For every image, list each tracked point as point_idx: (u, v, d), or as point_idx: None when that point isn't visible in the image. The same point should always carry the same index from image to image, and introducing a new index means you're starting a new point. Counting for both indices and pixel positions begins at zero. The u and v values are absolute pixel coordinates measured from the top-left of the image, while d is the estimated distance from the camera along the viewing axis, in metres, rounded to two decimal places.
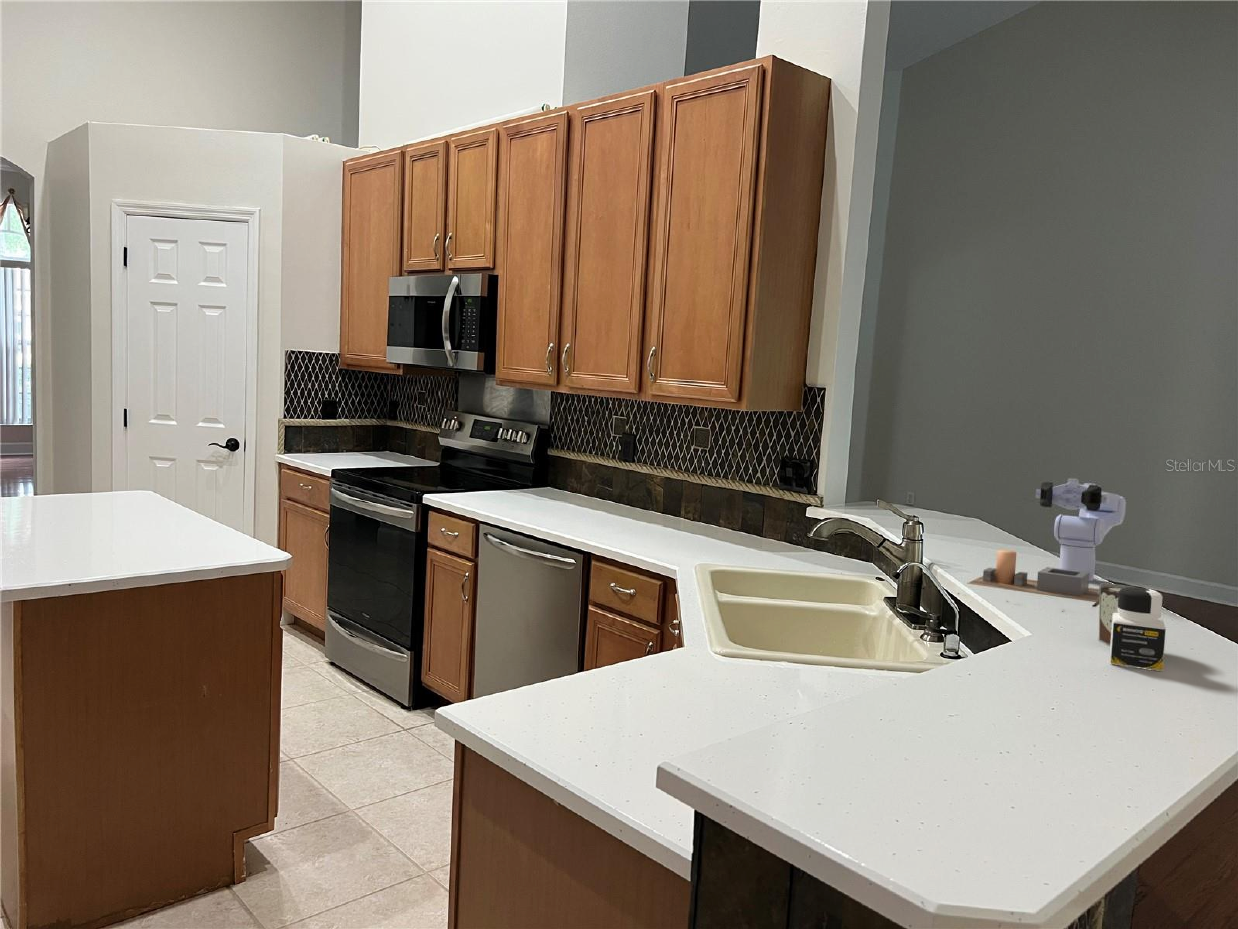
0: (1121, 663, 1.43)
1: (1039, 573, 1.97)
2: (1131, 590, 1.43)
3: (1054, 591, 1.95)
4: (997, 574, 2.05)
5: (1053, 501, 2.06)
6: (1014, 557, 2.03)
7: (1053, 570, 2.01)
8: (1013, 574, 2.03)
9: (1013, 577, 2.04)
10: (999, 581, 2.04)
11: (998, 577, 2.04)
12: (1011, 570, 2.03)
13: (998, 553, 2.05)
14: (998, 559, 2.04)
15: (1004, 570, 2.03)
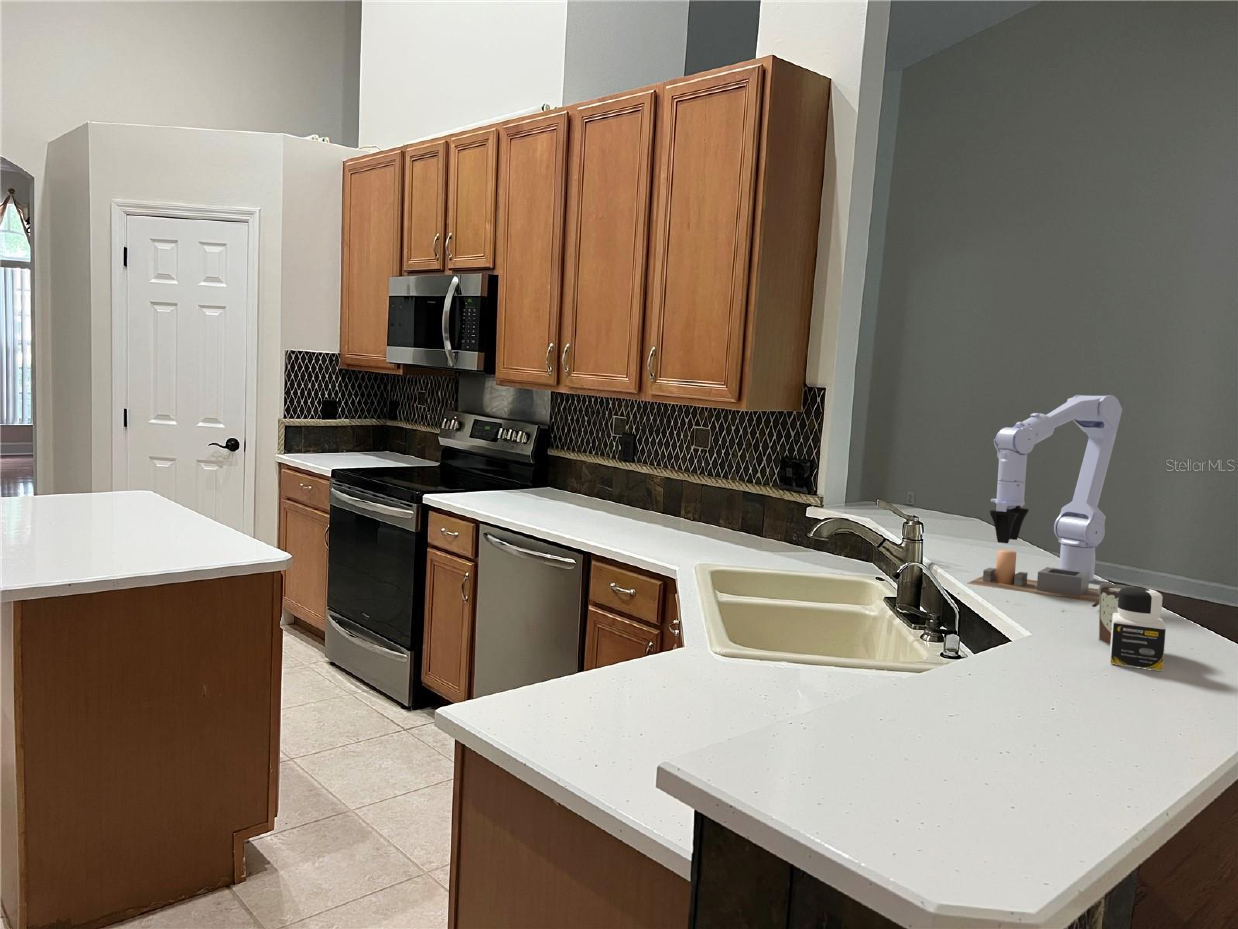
0: (1121, 663, 1.43)
1: (1039, 573, 1.97)
2: (1131, 590, 1.43)
3: (1054, 591, 1.95)
4: (997, 574, 2.05)
5: None
6: (1014, 557, 2.03)
7: (1053, 570, 2.01)
8: (1013, 574, 2.03)
9: (1013, 577, 2.04)
10: (999, 581, 2.04)
11: (998, 577, 2.04)
12: (1011, 570, 2.03)
13: (998, 553, 2.05)
14: (998, 559, 2.04)
15: (1004, 570, 2.03)
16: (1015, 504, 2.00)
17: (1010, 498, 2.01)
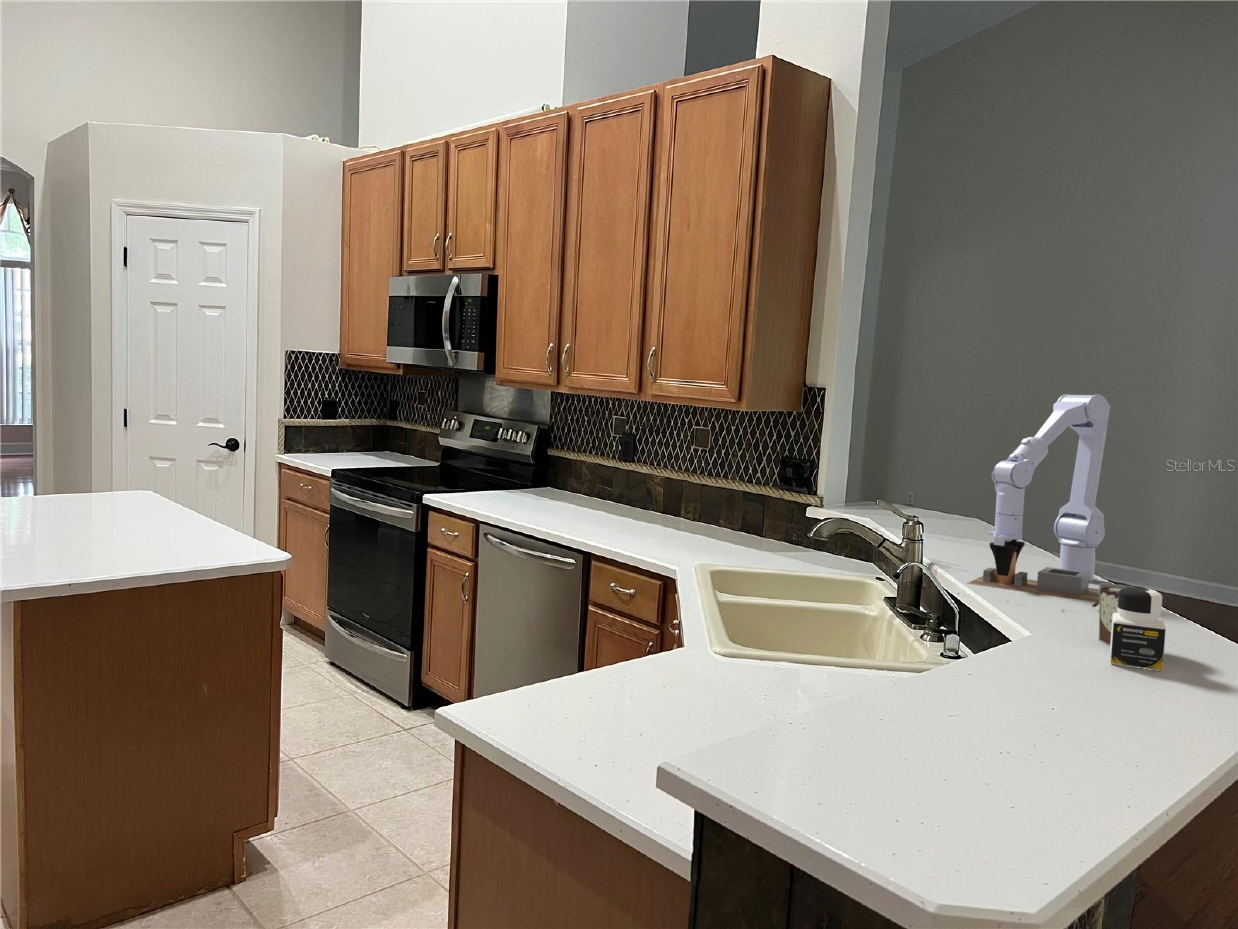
0: (1121, 663, 1.43)
1: (1039, 573, 1.97)
2: (1131, 590, 1.43)
3: (1054, 591, 1.95)
4: (997, 574, 2.05)
5: None
6: (1014, 557, 2.03)
7: (1053, 570, 2.01)
8: (1013, 574, 2.03)
9: (1013, 577, 2.04)
10: (999, 581, 2.04)
11: (998, 577, 2.04)
12: (1011, 570, 2.03)
13: None
14: None
15: None
16: (1013, 538, 2.01)
17: (1008, 532, 2.02)
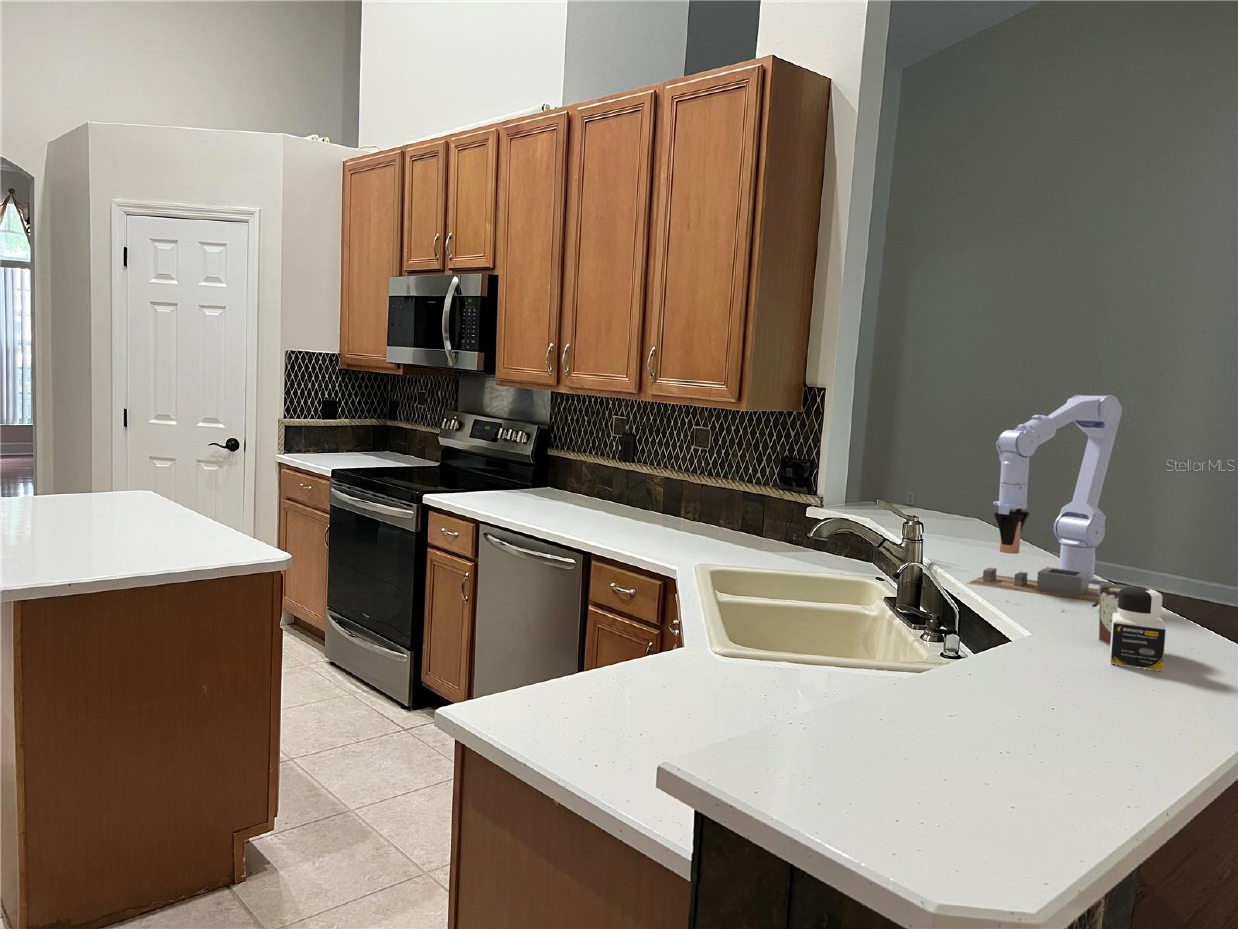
0: (1121, 663, 1.43)
1: (1039, 573, 1.97)
2: (1131, 590, 1.43)
3: (1054, 591, 1.95)
4: (1002, 544, 2.04)
5: None
6: (1019, 526, 2.02)
7: (1053, 570, 2.01)
8: (1018, 544, 2.03)
9: (1018, 547, 2.03)
10: (1004, 551, 2.03)
11: (1002, 547, 2.04)
12: (1016, 540, 2.02)
13: None
14: None
15: None
16: (1017, 507, 2.00)
17: (1012, 501, 2.01)
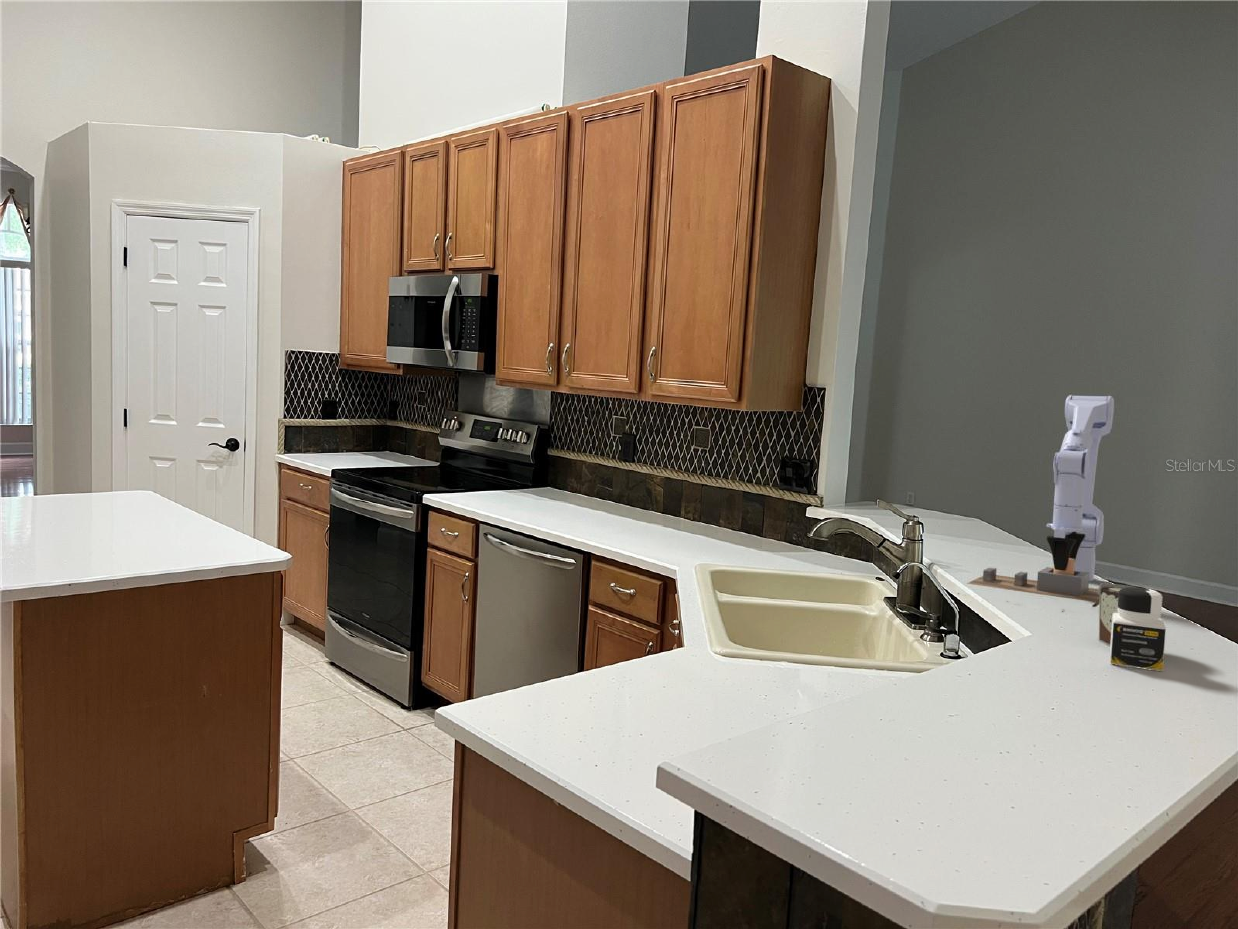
0: (1121, 663, 1.43)
1: (1039, 573, 1.97)
2: (1131, 590, 1.43)
3: (1054, 591, 1.95)
4: None
5: None
6: (1073, 564, 1.96)
7: (1053, 570, 2.01)
8: None
9: None
10: None
11: None
12: None
13: None
14: None
15: None
16: (1073, 530, 1.93)
17: (1068, 524, 1.94)
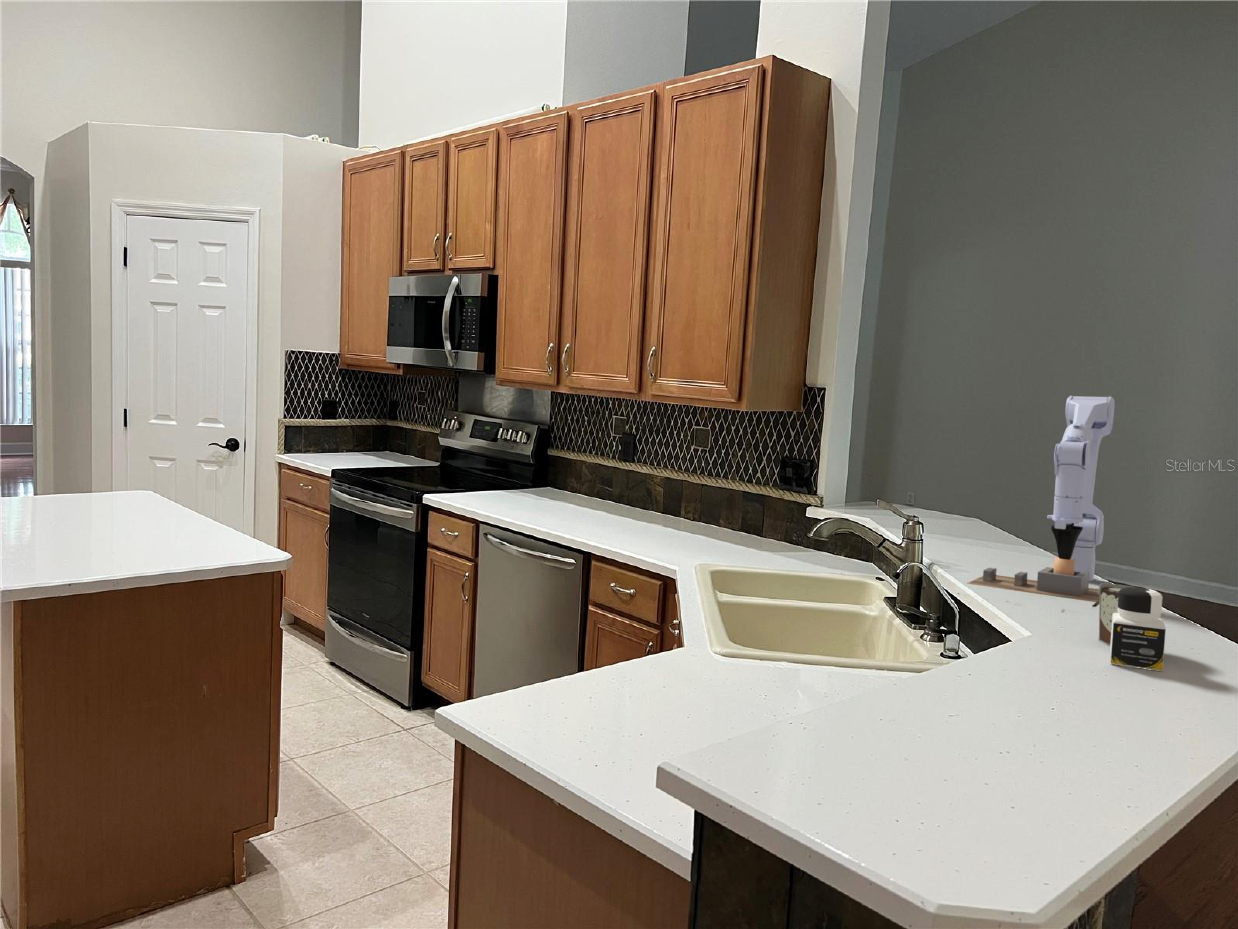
0: (1121, 663, 1.43)
1: (1039, 573, 1.97)
2: (1131, 590, 1.43)
3: (1054, 591, 1.95)
4: None
5: None
6: (1073, 564, 1.96)
7: (1053, 570, 2.01)
8: None
9: None
10: None
11: None
12: None
13: (1056, 560, 1.97)
14: (1056, 566, 1.97)
15: None
16: (1074, 521, 1.93)
17: (1068, 515, 1.94)
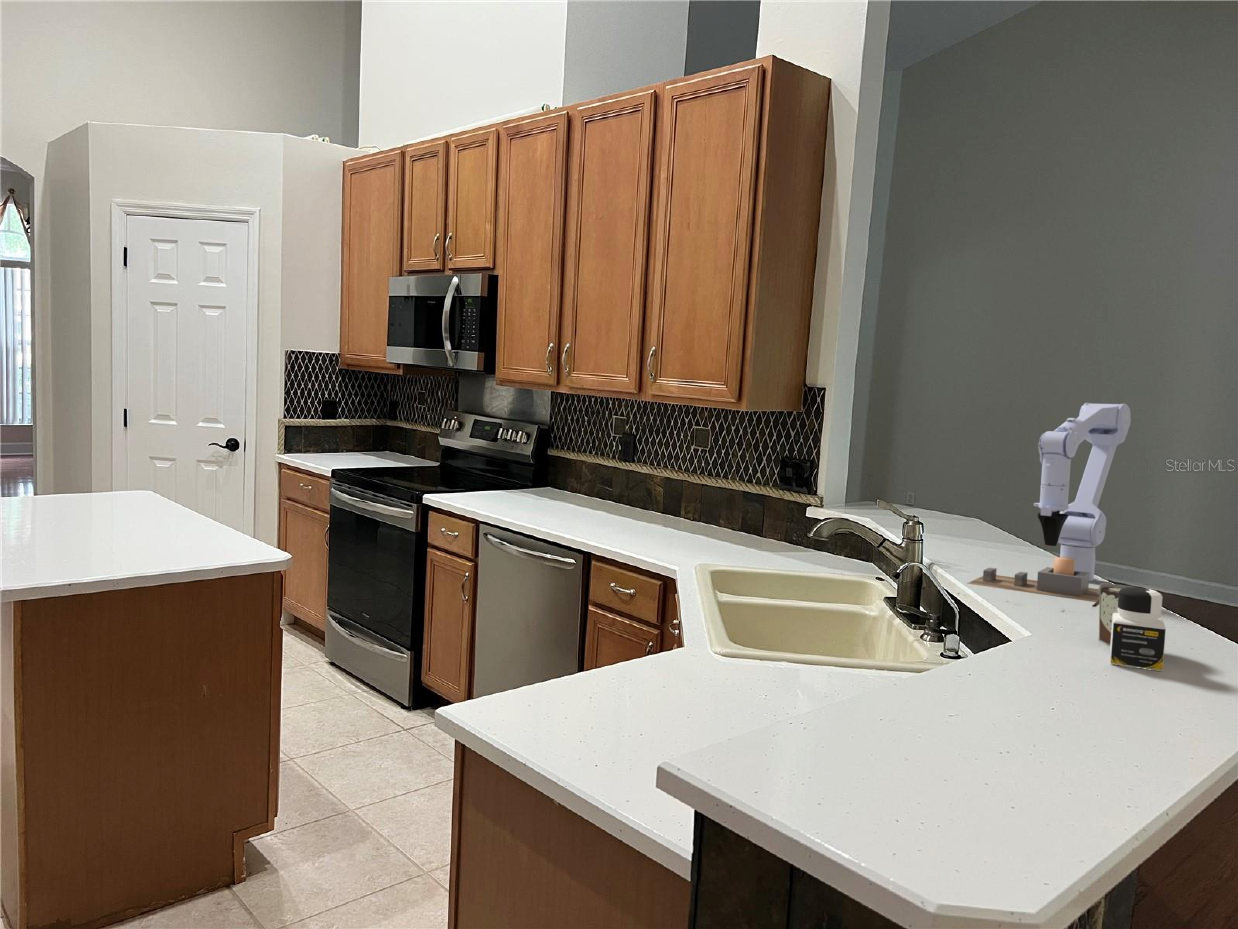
0: (1121, 663, 1.43)
1: (1039, 573, 1.97)
2: (1131, 590, 1.43)
3: (1054, 591, 1.95)
4: None
5: None
6: (1073, 564, 1.96)
7: (1053, 570, 2.01)
8: None
9: None
10: None
11: None
12: None
13: (1056, 560, 1.97)
14: (1056, 566, 1.97)
15: None
16: (1059, 508, 1.99)
17: (1054, 503, 2.00)
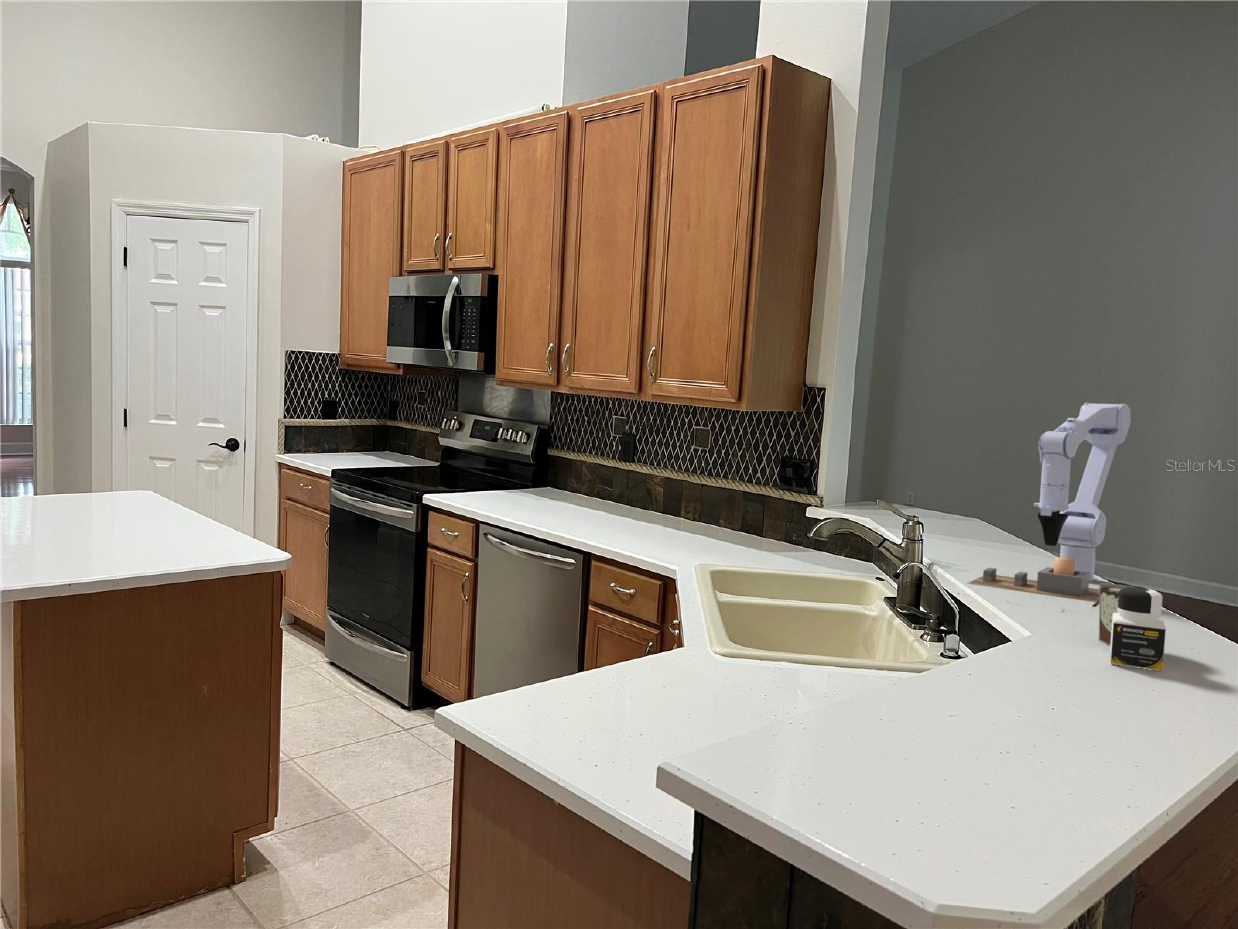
0: (1121, 663, 1.43)
1: (1039, 573, 1.97)
2: (1131, 590, 1.43)
3: (1054, 591, 1.95)
4: None
5: None
6: (1073, 564, 1.96)
7: (1053, 570, 2.01)
8: None
9: None
10: None
11: None
12: None
13: (1056, 560, 1.97)
14: (1056, 566, 1.97)
15: None
16: (1059, 508, 1.99)
17: (1054, 503, 2.00)
